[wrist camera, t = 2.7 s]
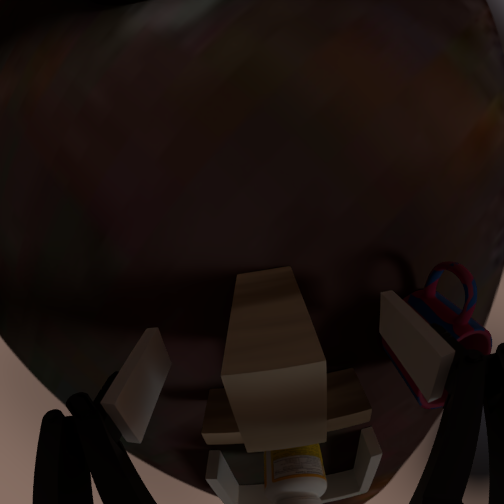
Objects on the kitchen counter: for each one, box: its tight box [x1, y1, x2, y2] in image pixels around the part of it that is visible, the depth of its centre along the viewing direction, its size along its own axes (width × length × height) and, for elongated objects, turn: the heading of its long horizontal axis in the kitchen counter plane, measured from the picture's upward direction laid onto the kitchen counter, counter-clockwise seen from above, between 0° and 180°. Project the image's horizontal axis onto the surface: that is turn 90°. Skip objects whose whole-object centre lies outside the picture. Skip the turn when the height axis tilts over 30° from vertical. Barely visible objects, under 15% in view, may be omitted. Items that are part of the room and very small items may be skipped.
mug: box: [382, 262, 492, 409], centre depth 16 cm, size 7×10×7 cm
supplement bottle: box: [264, 443, 327, 504], centre depth 18 cm, size 5×5×10 cm
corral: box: [205, 426, 383, 504], centre depth 23 cm, size 11×17×4 cm, turn 100°
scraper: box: [201, 266, 372, 453], centre depth 15 cm, size 11×12×10 cm
